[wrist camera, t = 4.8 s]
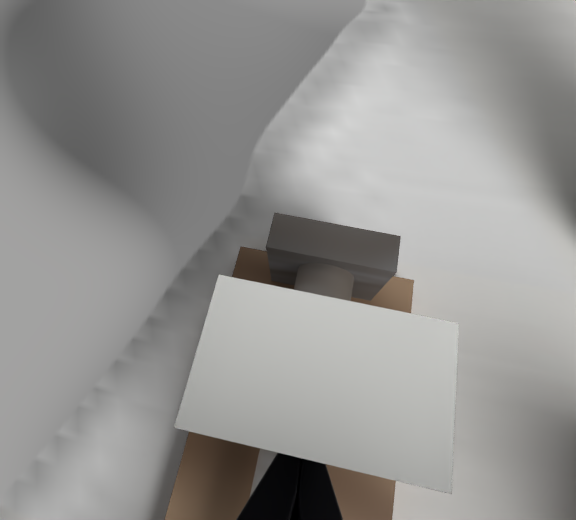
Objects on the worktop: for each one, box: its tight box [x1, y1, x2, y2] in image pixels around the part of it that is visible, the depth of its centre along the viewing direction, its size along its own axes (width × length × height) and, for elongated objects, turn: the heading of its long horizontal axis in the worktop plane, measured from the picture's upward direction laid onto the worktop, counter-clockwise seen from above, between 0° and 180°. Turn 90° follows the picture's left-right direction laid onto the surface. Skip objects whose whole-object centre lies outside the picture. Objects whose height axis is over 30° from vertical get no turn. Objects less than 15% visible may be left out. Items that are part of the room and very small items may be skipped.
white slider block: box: [174, 275, 459, 494], centre depth 11 cm, size 3×5×9 cm, turn 78°
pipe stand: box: [165, 213, 414, 520], centre depth 13 cm, size 20×9×6 cm, turn 168°
